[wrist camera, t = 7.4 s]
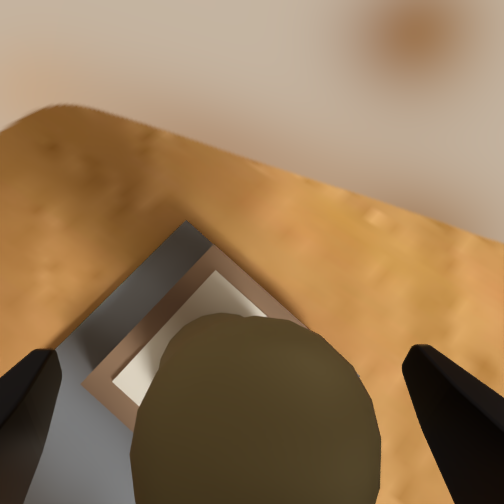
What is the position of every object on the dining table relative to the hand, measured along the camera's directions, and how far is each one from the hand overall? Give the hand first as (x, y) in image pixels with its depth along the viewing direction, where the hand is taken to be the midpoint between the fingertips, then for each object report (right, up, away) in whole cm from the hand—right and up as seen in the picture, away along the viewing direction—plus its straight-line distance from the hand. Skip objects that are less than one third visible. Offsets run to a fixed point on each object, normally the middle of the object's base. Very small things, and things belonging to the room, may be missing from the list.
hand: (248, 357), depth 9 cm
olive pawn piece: (-1, -3, +8) cm, 9 cm away
